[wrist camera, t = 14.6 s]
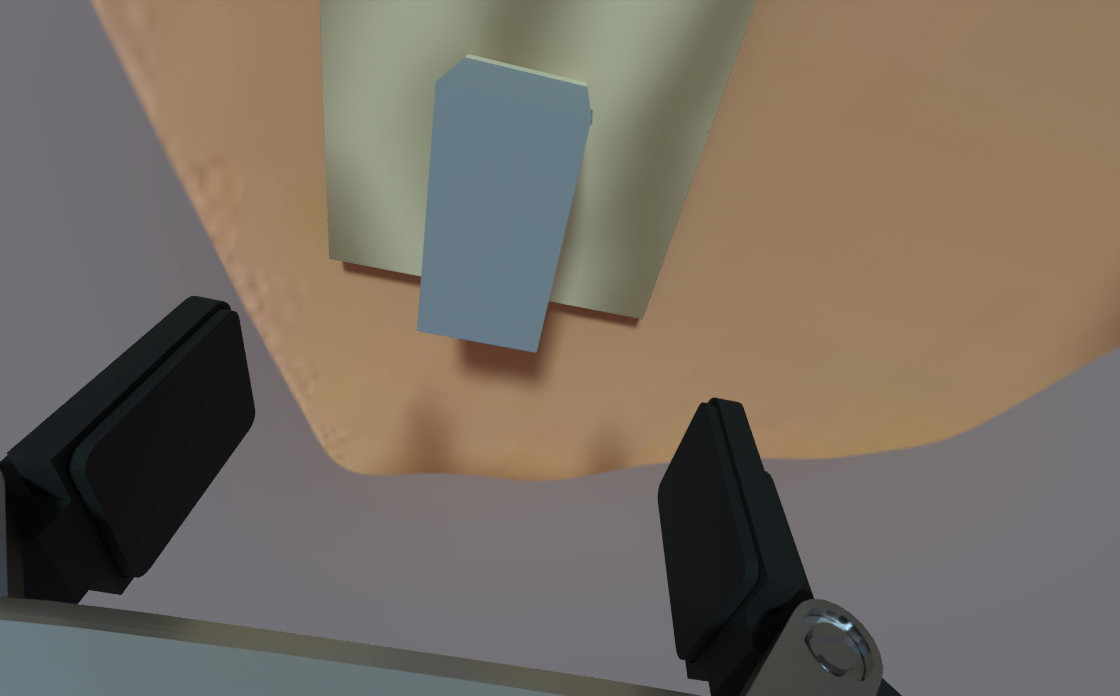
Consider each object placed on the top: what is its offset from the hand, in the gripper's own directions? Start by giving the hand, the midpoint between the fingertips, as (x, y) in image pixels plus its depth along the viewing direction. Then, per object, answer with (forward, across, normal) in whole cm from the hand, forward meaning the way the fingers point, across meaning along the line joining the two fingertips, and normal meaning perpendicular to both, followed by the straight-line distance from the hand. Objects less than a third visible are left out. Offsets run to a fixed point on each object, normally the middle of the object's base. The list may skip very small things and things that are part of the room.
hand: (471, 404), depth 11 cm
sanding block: (+13, +1, 0) cm, 13 cm away
